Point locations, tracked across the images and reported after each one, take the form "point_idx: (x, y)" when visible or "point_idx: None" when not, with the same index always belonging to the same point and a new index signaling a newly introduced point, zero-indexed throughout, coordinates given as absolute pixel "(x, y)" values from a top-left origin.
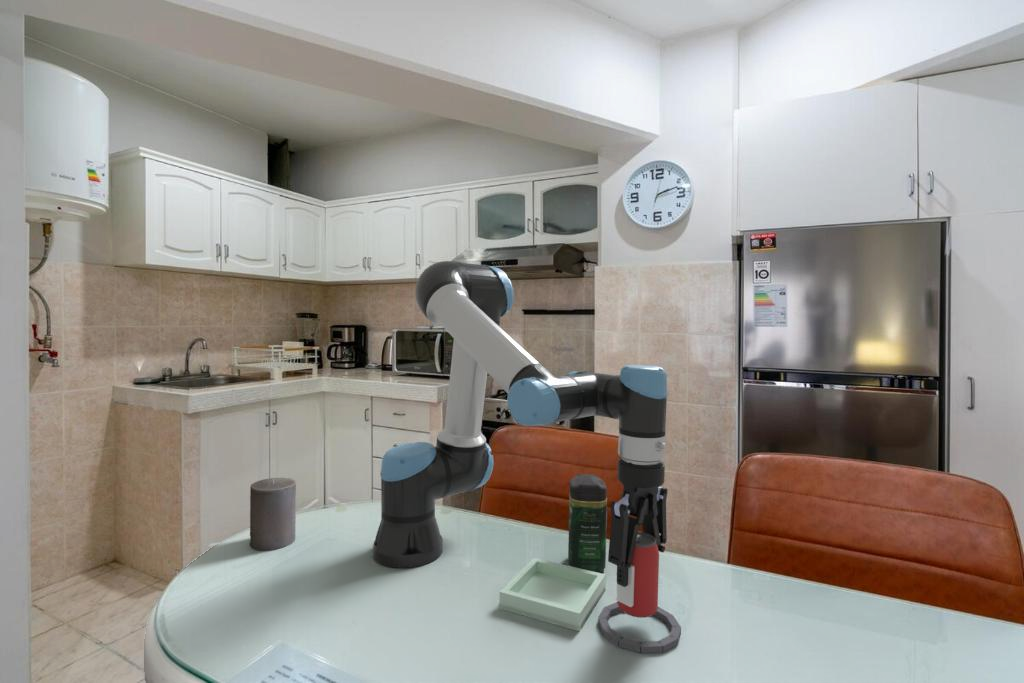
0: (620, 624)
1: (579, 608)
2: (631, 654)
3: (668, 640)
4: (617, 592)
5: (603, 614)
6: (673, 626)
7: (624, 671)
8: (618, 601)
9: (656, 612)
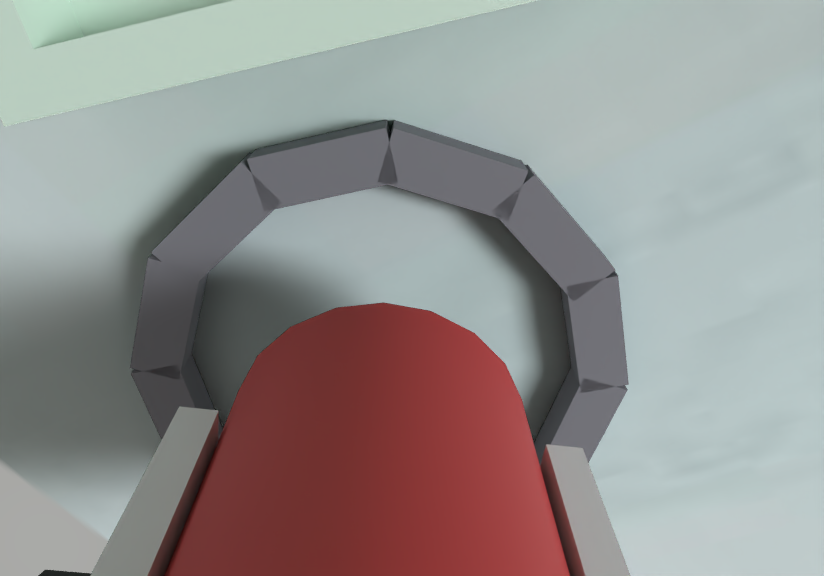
0: (344, 265)
1: (60, 81)
2: (144, 421)
3: None
4: (156, 457)
5: (300, 172)
6: None
7: (9, 448)
8: (265, 359)
9: (567, 398)
